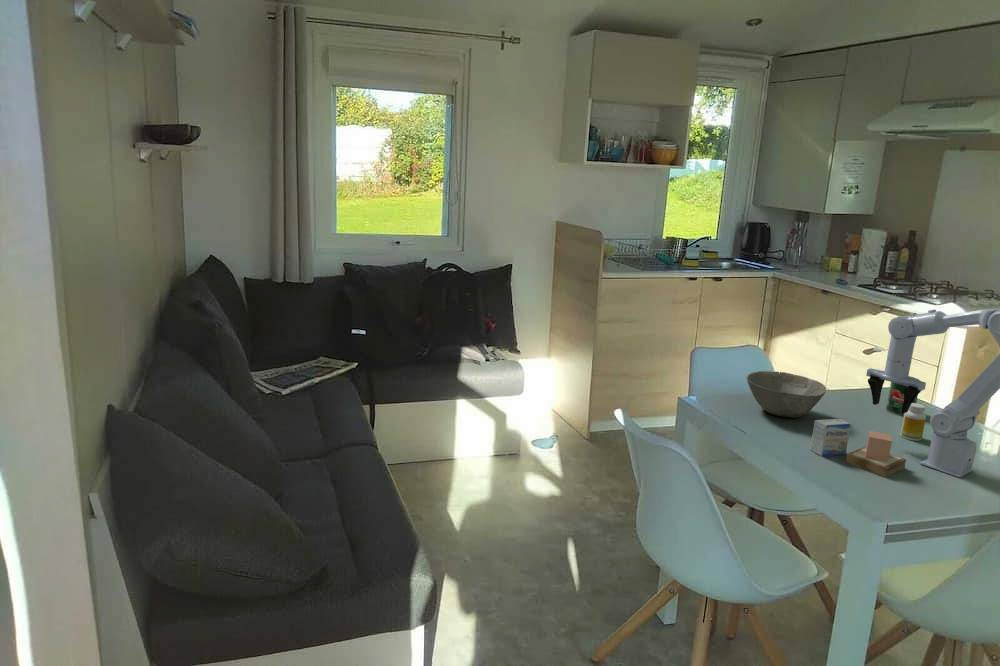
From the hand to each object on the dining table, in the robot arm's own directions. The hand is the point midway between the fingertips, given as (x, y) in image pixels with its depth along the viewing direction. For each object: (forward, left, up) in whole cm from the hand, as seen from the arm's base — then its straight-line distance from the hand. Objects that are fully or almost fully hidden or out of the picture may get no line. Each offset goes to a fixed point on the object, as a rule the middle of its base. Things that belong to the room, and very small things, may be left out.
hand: (889, 408), depth 193 cm
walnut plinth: (-6, +17, -10) cm, 21 cm away
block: (-6, +17, -8) cm, 20 cm away
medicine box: (+5, +20, -11) cm, 23 cm away
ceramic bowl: (+29, +3, -11) cm, 31 cm away
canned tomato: (+10, -32, -11) cm, 35 cm away
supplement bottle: (-2, -12, -11) cm, 16 cm away
